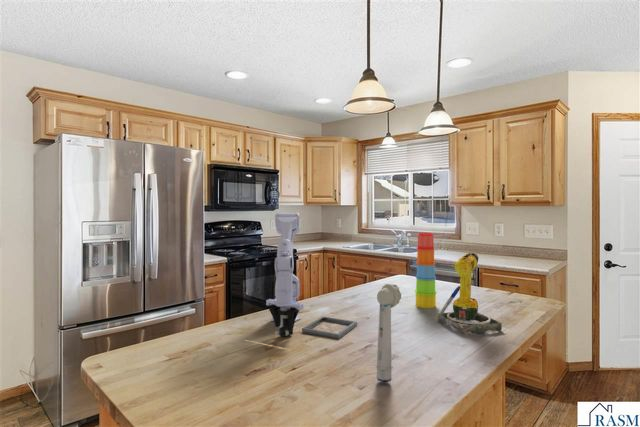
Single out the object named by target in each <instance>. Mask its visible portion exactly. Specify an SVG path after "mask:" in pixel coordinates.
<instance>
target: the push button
mask: <svg viewBox="0 0 640 427" xmlns="http://www.w3.org/2000/svg"><path fill="white" fill-rule="evenodd" d="M289 309H290V308H285V307H280V309H278V312H279V315H280V316H281V323H280V326H278V330H277V331H275V332H274V333H275V334H274V335H275V336H279V337H285V336H290V335H293V334H294V328H293V329H291V330H290V329H289V327H288V315H287V312H286V311H287V310H289Z"/></svg>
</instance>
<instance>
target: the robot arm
mask: <svg viewBox="0 0 640 427" xmlns="http://www.w3.org/2000/svg"><path fill="white" fill-rule="evenodd" d="M274 218H275V219H274V223H275V225H274V226H275V230H276V233H277V234H279V235H280V241H278V242H277V249H276V250H277V252H276V257H275V258H274V270H275V286H274V297H275V298H274V299H273V298H269V299H266V301H265V302H266V304H265V305H266V306H267V307H269V306H270V307H269V308H268V310H269V311H268V312H269V313H270V314H271V321H272V322H274V326H275V327H276V328H279V327H280V326H281V316H280V315H279V312H278V309H280V307H285V308H290V309H289V310H287V311H286V312H287V315H288V327H289V329H290V330H291V329H293V330H294V326H295V322H297V321H299V320H301V317H300V316H299V317H298V314H299V312H300V311H302V310H304V303H302V302H301V303H300V302H297V299H298V298H299V297H300V279H299V278H298V277H297V276H296V275H295V274H294V273H293V272H294V267H295V266H294V265H295V264H294V239H295V235H297V234H299V232H300V212H276V213H275V216H274Z"/></svg>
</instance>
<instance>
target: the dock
mask: <svg viewBox="0 0 640 427" xmlns="http://www.w3.org/2000/svg"><path fill="white" fill-rule="evenodd" d="M323 322H330V323H336V324H343V325H347V326H346V327H345V328H343V329H342V330H340V331H339V332H338V333H337V332H330V331H324V330H319V329H314V328H316V326H318V325H320V324H321V323H323ZM356 326H358V321H356V320H350V319H349V320H348V319H344V318H343V319H342V318H335V317H329V316H321V317H319V318H317V319H316V320H314V321H312V322H311V323H309V324H307V325H306V326H304V327H302V328H301V332H302V334H303V333H304V334H309V335H313V336H314V335H315V336H320V337H325V338H330V339H336V340H340V339H342V337H344V336H345V335H346V334H348V333H349V332H351V331H352V330H353V329H354V328H356Z"/></svg>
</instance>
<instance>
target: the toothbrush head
mask: <svg viewBox="0 0 640 427" xmlns="http://www.w3.org/2000/svg"><path fill="white" fill-rule="evenodd" d="M376 299H377V302H378V304H379V315H378V333H377V334H378V337H377V340H378V341H377V351H376V352H377V355H376V362H375V368H376V379H377V381H378V382H381V383H390V382H391V381H392V370H393V368H394V367H393V364H392V310H391V309H393V308H395V307H396V306H397V305H399V304H400V302H401V300H402V293H401V291H400V287H399V286H398V285H397V284H391V283H385V284H384V285H383V286H382V287H381V289H380V290H379V291H378V292H377V295H376Z"/></svg>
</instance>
